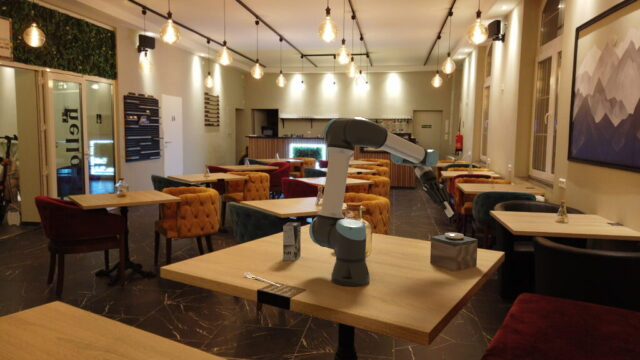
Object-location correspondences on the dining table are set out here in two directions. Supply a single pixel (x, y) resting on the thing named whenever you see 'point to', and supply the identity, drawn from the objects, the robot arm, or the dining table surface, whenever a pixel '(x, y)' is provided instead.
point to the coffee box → (291, 241)
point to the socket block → (453, 252)
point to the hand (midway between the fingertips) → (451, 215)
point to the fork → (258, 278)
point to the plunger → (454, 236)
